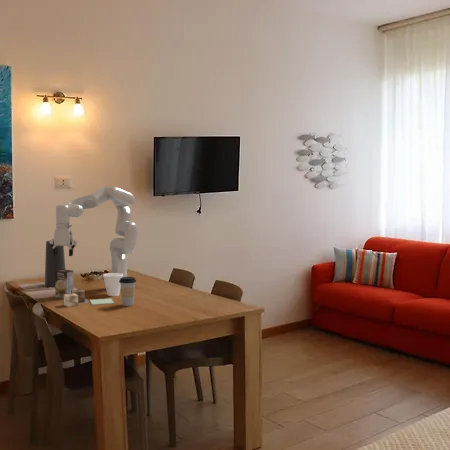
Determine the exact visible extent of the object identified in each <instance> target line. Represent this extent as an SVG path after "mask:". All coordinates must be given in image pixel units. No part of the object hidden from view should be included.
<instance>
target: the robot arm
mask: <svg viewBox="0 0 450 450" xmlns="http://www.w3.org/2000/svg"><path fill="white" fill-rule="evenodd" d="M109 201H112V203H113V205H114V206H115V207H116V210H117V215H116V216H117V218H116V222H115V229H114V233H115V234H116V235H117V236H120V237H115V238H113V239H111V240H110V242H109V251H110V257H111V258H110V259H111V273H121V274H123V277H128V259H127V255H132V254H133V253H134V251H135V249H136V244H137V239H138V234H139V227H138V225H137V224H136V223H135V222H133V221H131V218H132V210H131V208H130V207H132V206H134V204H135V203H136V198H135V196H134V194H133V193H131V192H129V191H127V190H124V189H122V188H120V187H118V186H103V187H102V188H99V189H97V190H96V191H94V192H91V193H90V194H89V193H88V194H87V195H83V196H81V197H78V198H75V199H73V200H70V201H68V202H66V203H65V204H57V205H55V224H56V225H55V229H54V233H53V234H54V235H53V238H52V239H50V240H48V241H49V243H50V244H51V246H52V248H53V253H54V256H55V255H58V249H57V246H64V247H68V248H69V249H68V257H72V256H74V249H75V248H76V246H77V245H78V241H77V240H75V239H73V232H72V228H71V227H72V224H71V223H70V221H71V220H70V217H71V218H78V217H81V216H82V215H83V214H84V211H85V210H87V209H89V210H90V209H94V208H97V207H99V206H101V205H103V204H104V203H106V202H109ZM53 241H54V244H53ZM120 290H121V288H120Z"/></svg>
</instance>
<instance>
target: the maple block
mask: <svg viewBox="0 0 450 450" xmlns="http://www.w3.org/2000/svg"><path fill="white" fill-rule="evenodd" d="M63 305H64V306H65V307H66V308H70V307H79V303H78V295H76V294H65V295H64V299H63Z"/></svg>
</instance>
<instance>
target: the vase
mask: <svg viewBox="0 0 450 450" xmlns="http://www.w3.org/2000/svg"><path fill="white" fill-rule="evenodd" d="M49 241H50V240H46V241H45V262H44V263H45V264H44V266H45V269H44V287H45V288H50V287H55V271H56V270H60V269H65V270H66V261H65V260H66V258H65V246H57V249H58V255H55V256H54V253H53V248H52V246H51V244H50V243H49ZM53 244H54V241H53Z"/></svg>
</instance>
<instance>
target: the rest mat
mask: <svg viewBox="0 0 450 450" xmlns="http://www.w3.org/2000/svg"><path fill="white" fill-rule="evenodd" d="M89 303H90V304H91V305H92V306H98V305H99V306H100V305H112V304H115V301H113V298H98V299H89Z"/></svg>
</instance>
